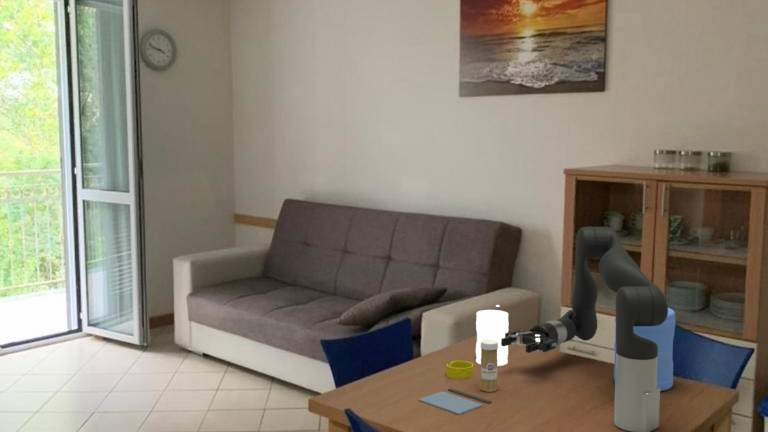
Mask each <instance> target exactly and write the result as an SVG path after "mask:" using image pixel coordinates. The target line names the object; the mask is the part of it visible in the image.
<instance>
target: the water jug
mask: <svg viewBox="0 0 768 432" xmlns="http://www.w3.org/2000/svg"><path fill="white" fill-rule="evenodd" d="M614 321H615V324H616V313H615V316H614ZM675 328H676V312H675V311H674V310H673V308H671V307H669V306H668V315H667V318H666V320H665V321H664V322H663V323H662V324H661V325H657V326H633V330H634V333H635V334H636V335H638V336H640V337H643V338H646V339H649V340H651V341H653V342H655V343H656V344H657V347H658V359H657V387H659V388H660V392H665V391H667V390H670V389H672V387H673V385H674V360H673V351H674V349H673V347H674V343H673V342H674V337H675V331H676V330H675ZM614 336H615V337H614V338H615V339H614V340H615V341H614V349H613V351H614V363H613V364H614V365H613V366H614V369H613V380H614V382H615V375H616V327H615V334H614Z"/></svg>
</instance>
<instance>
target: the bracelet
mask: <svg viewBox="0 0 768 432" xmlns="http://www.w3.org/2000/svg"><path fill="white" fill-rule="evenodd" d="M446 377H447V378H450V379H454V380H465V379H470V378H472V377H474V363H473V362H471V361H467V360H453V361H451V362H450V364H449V363H447V364H446Z"/></svg>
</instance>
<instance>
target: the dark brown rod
mask: <svg viewBox="0 0 768 432" xmlns="http://www.w3.org/2000/svg"><path fill="white" fill-rule="evenodd" d="M447 390H448V392H450V393H451V392H452V393H454V394H457V395H461V396H464V397H467V398H470V399H473V400H476V401H479V402H483V403H484V404H488V405H490V404H492V402H493V401H492V400H489V399H486V398H483V397H480V396H477V395H473V394H471V393H467V392H464V391H461V390H458V389H454V388H453V387H450V388H448V389H447Z"/></svg>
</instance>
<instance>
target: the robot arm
mask: <svg viewBox="0 0 768 432" xmlns="http://www.w3.org/2000/svg"><path fill="white" fill-rule="evenodd" d="M574 253H575V255H574V287H573V292H572V299H571V309H569V310H567V311H566V313H564V315H562V316H561V317H560V318H557V319H555V320H548V321H545V322H542V323H539V324H536V325H535V324H534V325H533V326H532V327H531V328H530V329H529V331H525V332H521V330H519V329H517V330H513V331H508V333H505V338H502V339H501V345H502V346H507V345H508V346H510V345H517V346H525V353H527V354H529V353H532V352H540V351H542V352H543V353H547V352H549V351H551V350H554V349H557V347H558V346H559V345H561V344H564V343H567V342H569V341H571V340H573V339H574V338H575V337H577V338H578V339H580V340H582V341H589V340H592V339H593V338H594V337H595V335H596V333H597V329H598V319H597V318H598V317H597V312H596V304H597V299H598V294H599V289H598V288H599V287H598V285H597V281H596V280H595V278H594V277H593V275H592V273H591V272H590V270H589V267H588V265H587V263H588V262H587V261H588V259H589V260H599V262H598V273H599V275H600V277H601V279H602V280H603V282H604V284H605V285H606V287H608V289H610V290H611V291H613V292H614V293H615V294H616V295H615V314H616V323H615V328H616V375H615V381H614V384H615V385H614V413H613V415H614V416H613V418H614V421H613V423H614V426H616V427H617V428H619V429H620V430H621V429H622V430H623V431H628V432H652V431H654V430H656V429H659V428H660V406H661V405H660V404H661V403H660V402H661V400H660V398H661V391H660V388H659V387H657V359H658V347H657V344H656V343H655V342H653V341H651V340H649V339H646V338H643V337H640V336H638V335H636V334H635V333H634V330H633V326H657V325H661V324H662V323H663V322H664V321H665V320H666V318H667V315H668V307H669V306H668V301H667V299H666V296H665V295H664V292H663V291H662V289H661V288H660V287H659V286H658V285H656V284H655V283H654V282H653V281H652V280H651V279H650V278H648V277H647V275H645V273H644V272H643V271H642V270H641V268H640V267H639V266H638V264H637V263H636V262H635V260H634V259H633V257H632V256H631V255H630V254H629V253H628V251H627V250H626V249H625V248H624V246H623V244H622V242H621V240H620V238H619V235H618V234H617V232H616V231H615V230H614V229H613V228H612V227H607V226H583V227H581V228H579V229H578V231H577V235H576V238H575V252H574ZM520 341H521V342H520Z"/></svg>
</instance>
